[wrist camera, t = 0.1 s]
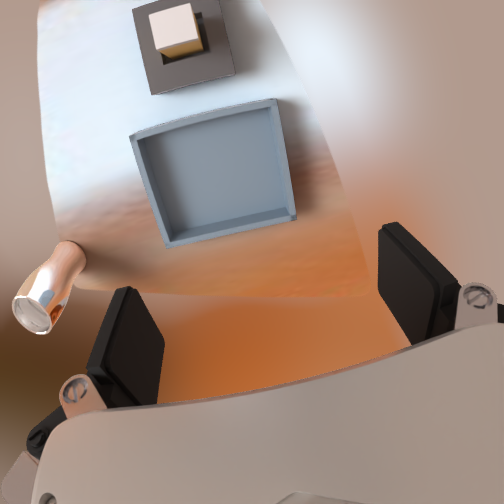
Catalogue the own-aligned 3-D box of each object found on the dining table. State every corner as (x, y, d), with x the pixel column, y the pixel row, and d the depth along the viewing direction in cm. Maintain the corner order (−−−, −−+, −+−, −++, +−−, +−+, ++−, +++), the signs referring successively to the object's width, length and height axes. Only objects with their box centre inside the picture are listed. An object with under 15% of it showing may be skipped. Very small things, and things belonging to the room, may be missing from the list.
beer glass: (46, 250, 43) (3, 306, 30) (70, 230, 41) (25, 286, 28) (71, 280, 46) (37, 341, 33) (96, 263, 45) (62, 326, 32)
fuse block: (139, 15, 27) (131, 9, 24) (215, -6, 27) (215, -14, 24) (157, 94, 34) (151, 95, 31) (234, 75, 33) (235, 73, 30)
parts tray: (136, 132, 36) (128, 136, 33) (271, 98, 35) (276, 98, 32) (170, 236, 44) (166, 248, 41) (291, 209, 43) (296, 219, 40)
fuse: (166, 32, 29) (148, 15, 20) (197, 24, 29) (189, 3, 20) (172, 59, 31) (156, 49, 22) (204, 51, 31) (197, 37, 22)
